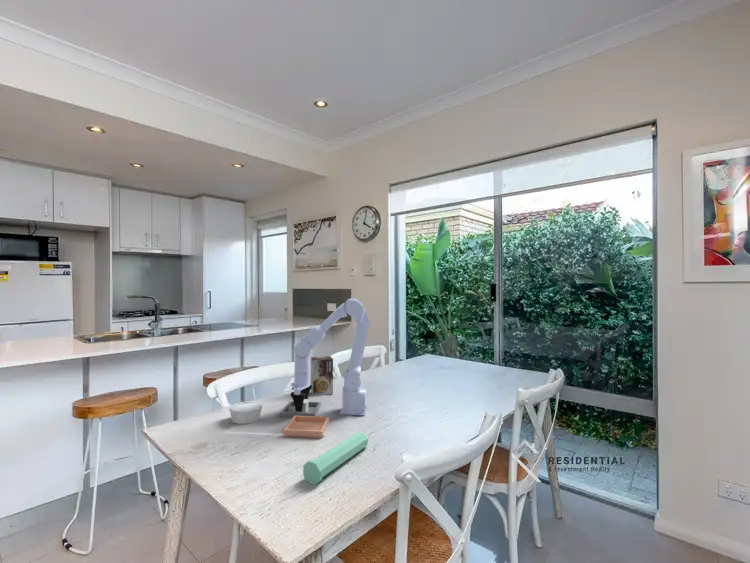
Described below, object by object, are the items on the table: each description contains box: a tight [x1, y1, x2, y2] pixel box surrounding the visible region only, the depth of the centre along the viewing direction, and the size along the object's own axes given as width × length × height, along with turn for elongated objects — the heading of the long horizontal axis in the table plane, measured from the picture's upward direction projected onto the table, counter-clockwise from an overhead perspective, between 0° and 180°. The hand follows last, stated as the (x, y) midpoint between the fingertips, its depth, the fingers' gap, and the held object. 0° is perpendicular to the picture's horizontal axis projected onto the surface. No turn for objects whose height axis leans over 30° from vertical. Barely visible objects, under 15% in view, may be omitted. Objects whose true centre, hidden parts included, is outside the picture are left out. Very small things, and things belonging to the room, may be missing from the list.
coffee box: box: [310, 355, 334, 396], centre depth 163 cm, size 9×6×16 cm
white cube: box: [294, 398, 310, 413], centre depth 139 cm, size 4×4×4 cm
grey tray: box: [279, 400, 322, 418], centre depth 139 cm, size 13×13×2 cm
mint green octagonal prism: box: [302, 431, 369, 485], centre depth 103 cm, size 6×6×25 cm
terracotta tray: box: [283, 415, 330, 439], centre depth 124 cm, size 13×13×2 cm
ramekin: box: [229, 400, 263, 425], centre depth 131 cm, size 11×11×5 cm
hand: (301, 407), depth 139 cm, fingers open, 7 cm apart
